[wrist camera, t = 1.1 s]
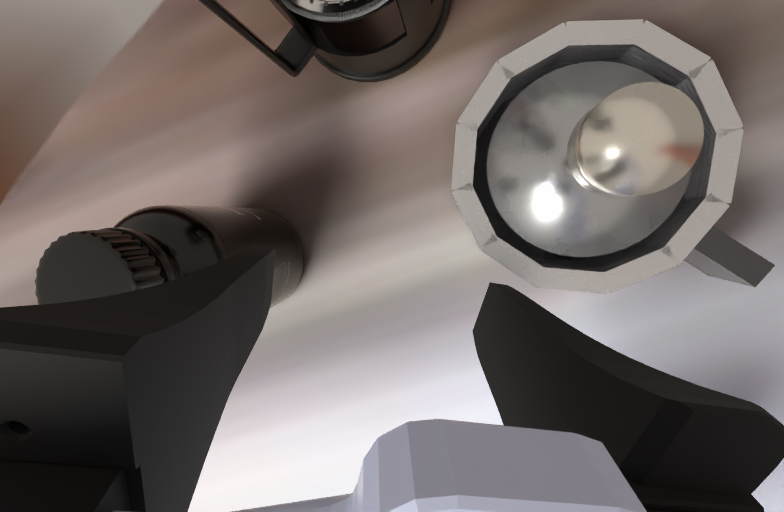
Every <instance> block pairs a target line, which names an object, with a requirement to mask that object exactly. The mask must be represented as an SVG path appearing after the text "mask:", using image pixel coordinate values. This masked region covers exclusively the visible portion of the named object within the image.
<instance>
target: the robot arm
mask: <svg viewBox="0 0 784 512" xmlns="http://www.w3.org/2000/svg"><path fill="white" fill-rule="evenodd" d="M274 261H275V249H274V248H267V247H261V246H253V247H251V248H248V249H246V250H244V251H242V252H240V253H238V254H236V255H234V256H231V257H229V258H227V259H225V260H223V261H221V262H219V263H216V264H214V265H212V266H209V267H207V268H204V269H202V270H199V271H197V272H194V273H192V274H189V275H187V276H184V277H181V278H178V279H175V280H172V281H169V282H165V283H162V284H158V285H155V286H151V287H147V288H143V289H138V290H134V291H129V292H124V293H120V294H115V295H110V296H104V297H98V298H92V299H85V300H78V301H70V302H62V303H53V304H42V305H29V306H16V307H4V308H0V512H188V508H189V505H190V502H191V500H192V497H193V494H194V491H195V488H196V485H197V482H198V479H199V476H200V473H201V470H202V468H203V465H204V462H205V459H206V456H207V453H208V451H209V448H210V445H211V442H212V440H213V437H214V434H215V431H216V429H217V426H218V423H219V421H220V418H221V415H222V413H223V410H224V407H225V405H226V402H227V400H228V397H229V395H230V393H231V390H232V388H233V386H234V384H235V382H236V380H237V378H238V376H239V374H240V372H241V370H242V368H243V366H244V364H245V362H246V360H247V358H248V357H249V355H250V353H251V351H252V349H253V347H254V345H255V343H256V341H257V339H258V337H259V335H260V333H261V331H262V329H263V326H264V323H265V320H266V318H267V315H268V312H269V308H270V305H271V300H272V287H273V274H274ZM473 335H474V341H475V346H476V350H477V354H478V358H479V360H480V363H481V366H482V369H483V371H484V374H485V377H486V379H487V382H488V384H489V387H490V389H491V392H492V395H493V397H494V400H495V402H496V405H497V407H498V410H499V413H500V416H501V419H502V422H503V425H504V426H503V425H493V424H483V423H474V422H464V421H454V420H444V419H433V420H421V421H410V422H407V423H405V424H403V425H401V426H399V427H397V428H395V429H393V430H391V431H389V432H387V433H385V434H383V435H382V436H380V437H378V438H377V440H376V441H375V443H374V444H373V446H372V447H371V449H370V450H369V452H368V453H367V455H366V456H365V458H364V460H363V464H362V468H361V472H360V475H359V479H358V483H357V485H356V487H355V490H354V492H353V493H352V494H346V495H339V496H332V497H326V498H319V499H312V500H306V501H299V502H292V503H286V504H279V505H272V506H266V507H259V508H252V509H246V510H239V511H232V512H764V508H763V507H762V506H761V505H760V503H759V502H758V501H757V500H756V499H755V498H754V497H753V496H752V495H751V493H752V492H753V491H754V490H755V489H756V488H757V487H758V486H759V485H760V484H761V483H762V482H763V481H764V480H765V479H766V478H767V477H768V476H769V474H770V473H771V472H772V471H773V470H774V469H775V468H776V467H777V466H778V464H779V463H780V462H781V461H782V459H783V458H784V425H783V424H781V423H780V422H779V421H778V420H777V419H775V418H774V417H773V416H772V415H771V414H769V413H768V412H767V411H766V410H765V409H763V408H762V407H760V406H758V405H756V404H754V403H752V402H749V401H746V400H742V399H739V398H736V397H733V396H730V395H727V394H723V393H720V392H717V391H714V390H711V389H707V388H704V387H701V386H698V385H696V384H693V383H690V382H688V381H685V380H682V379H679V378H677V377H674V376H671V375H669V374H666V373H664V372H661V371H659V370H656V369H654V368H652V367H649V366H647V365H645V364H643V363H640V362H638V361H636V360H634V359H631V358H629V357H627V356H625V355H623V354H621V353H619V352H617V351H615V350H613V349H611V348H609V347H607V346H605V345H603V344H601V343H599V342H598V341H596V340H594V339H592V338H590V337H589V336H587V335H585V334H583V333H582V332H580V331H578V330H577V329H575V328H574V327H572V326H570V325H569V324H567V323H565V322H564V321H562V320H561V319H559V318H558V317H556V316H555V315H553V314H552V313H550V312H549V311H547V310H546V309H544V308H543V307H541V306H540V305H538V304H537V303H535V302H534V301H532V300H531V299H530V298H528V297H527V296H525V295H523V294H522V293H520V292H519V291H517V290H515V289H514V288H512V287H510V286H508V285H503V284H496V283H490V284H489V287H488V289H487V292H486V295H485V298H484V301H483V303H482V306H481V309H480V312H479V315H478V317H477V320H476V323H475V326H474V329H473Z"/></svg>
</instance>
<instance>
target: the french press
mask: <svg viewBox="0 0 784 512" xmlns="http://www.w3.org/2000/svg"><path fill="white" fill-rule="evenodd" d="M199 1H200V2H201V3H202V4H204V5H205V6H206V7H207V8H208V9H210V10H211V11H212V12H213V13H215V14H216V15H217V16H218V17H219V18H221V19H222V20H223V21H224V22H226V23H227V24H228V25H229V26H230V27H232V28H233V29H234V30H235V31H237V32H238V33H239V34H240V35H241V36H243V37H244V38H245V39H246V40H248V41H249V42H250V43H251V44H253V45H254V46H255V47H256V48H257V49H259V50H260V51H261V52H262V53H264V54H265V55H266V56H267V57H268V58H270V59H271V60H272V61H273V62H275V63H276V64H277V65H278V66H279V67H281V68H282V69H283V70H284V71H286V72H287V73H288V74H289V75H291V76H293V77H296V76H298V75H299V74H300V72H301V71H302V70H303V68H304V67H305V66H306V64H307V63H308V62H309V60H310V59H311V58H312V56H313V55H314V56H315V57H316V59H317V60H318V61H319V62H320V63H321V64H322V65H323V66H324V67H326V68H327V69H329V70H330V71H331V72H333V73H334V74H336V75H339V76H341V77H343V78H345V79H348V80H353V81H358V82H378V81H382V80H387V79H391V78H393V77H395V76H398V75H400V74H402V73H404V72H406V71H407V70H409V69H410V68H411V67H413V66H414V65H416V64H417V63H418V62H419V61H420V60H421V59H422V58H423V57H424V56H425V55H426V54H427V53H428V52H429V51H430V49H431V48H432V46H433V45H434V43H435V42H436V41H437V39H438V38H439V36H440V33H441V31H442V29H443V27H444V25H445V22H446V19H447V15H448V11H449V7H450V0H396V1H397V4H398V8H399V11H400V15H401V18H402V21H403V25H404V28H405V33H404V34H402V35H401V36H399V37H398V38H397V39H395V40H394V41H392V42H391V43H389V44H386V45H384V46H382V47H380V48H378V49H374V50H370V51H366V52H362V53H346V52H344V51H341V50H340V49H338V48H337V47H336V46H334V45H333V44H332V43H331V42H330V41H329V40H328V39H327V38H326V36H325V34H324V33H323V31H322V29H321V27H320V24H319V21H320V22H327V23H344V22H350V21H354V20H358V19H362V18H365V17H367V16H369V15H372V14H374V13H376V12H378V11H380V10H381V9H383V8H384V7H386V6H387V5H389V4H390V3H392V2H393V1H394V0H270V1H271V2H272V4H273V5H274V6H275V7H276V8H277V9H278V10H279V11H280V13H281V14H282V15H283V16H284V17H285V18H286V19H287V20H288V21H289V23H290V24H291V25H292V26H293V27H292V29H291V30H290V31H289V33H288V34H287V36H286V37H285V38H284V40H283V41H282V42H281V44H280V45H279V47H278V48H277V49H276V50H275V51H273V50H272V49H271V48H270V47H269V46H268V45H267V44H265V43H264V42H263V41H262V40H261V39H260V38H259V37H257V36H256V35H255V34H254V33H253V32H252V31H251V30H249V29H248V28H247V27H246V26H245V25H244V24H243V23H241V22H240V21H239V20H238V19H237V18H236V17H235V16H233V15H232V14H231V13H230V12H229V11H228V10H227V9H226V8H224V7H223V6H222V5H221V4H220V3H219V2H218V1H216V0H199Z"/></svg>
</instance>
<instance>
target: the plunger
mask: <svg viewBox="0 0 784 512" xmlns="http://www.w3.org/2000/svg"><path fill="white" fill-rule="evenodd" d="M703 138H704V127H703V121H702V117H701V115H700V112H699V110H698V108H697V107H696V105H695V104H694V102H693V101H692V100H691V99H690V98H689V97H688V96H687V95H686V94H685V93H683V92H682V91H680V90H679V89H677V88H675V87H673V86H670V85H667V84H663V83H661V82H660V81H658V80H657V79H656V78H654V77H653V76H651V75H650V74H648V73H646V72H644V71H642V70H640V69H637V68H634V67H631V66H628V65H625V64H620V63H615V62H605V61H593V62H582V63H577V64H572V65H568V66H565V67H562V68H559V69H557V70H554V71H552V72H550V73H548V74H546V75H544V76H542V77H541V78H539V79H538V80H536V81H534V82H533V83H532V84H530V85H529V86H528V87H527V88H525V89H524V90H523V91H522V92H521V93H520V94H519V95H518V96H517V97H516V98H515V99H514V100H513V101H512V102H511V104H510V105H509V106H508V108H507V109H506V110H505V112H504V113H503V115H502V117H501V118H500V120H499V122H498V124H497V126H496V128H495V131H494V133H493V135H492V138H491V141H490V145H489V148H488V154H487V161H486V175H487V184H488V188H489V192H490V196H491V198H492V201H493V203H494V206H495V208H496V209H497V211H498V213H499V215H500V216H501V217H502V219H503V220H504V221H505V223H506V224H507V225H508V226H509V227H510V228H511V229H512V230H513V231H514V232H515V233H516V234H517V235H519V236H520V237H521V238H523V239H524V240H525V241H527V242H529V243H531V244H532V245H534V246H536V247H539V248H541V249H543V250H546V251H548V252H552V253H555V254H559V255H565V256H572V257H591V256H601V255H605V254H609V253H614V252H616V251H619V250H622V249H625V248H627V247H629V246H631V245H633V244H635V243H637V242H639V241H641V240H642V239H644V238H645V237H647V236H648V235H650V234H651V233H652V232H653V231H655V230H656V229H657V228H658V227H659V226H661V224H662V223H663V222H664V221H665V220H666V219H667V218H668V217H669V216H670V215H671V213H672V212H673V211H674V209H675V208H676V206H677V205H678V203H679V202H680V200H681V198H682V196H683V194H684V192H685V190H686V187H687V185H688V182H689V179H690V175H691V171H692V167H693V165H694V163H695V162H696V160H697V158H698V156H699V154H700V151H701V148H702V144H703Z"/></svg>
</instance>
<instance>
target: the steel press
mask: <svg viewBox="0 0 784 512" xmlns="http://www.w3.org/2000/svg"><path fill="white" fill-rule="evenodd" d="M710 58H711V57H709V56H708V55H706V54H704V53H702V52H701V51H699V50H697V49H695V48H694V47H692V46H690V45H689V44H687V43H685V42H683V41H682V40H680V39H678V38H677V37H675V36H673V35H671V34H670V33H668V32H666V31H664V30H663V29H661V28H659V27H658V26H656V25H654V24H652V23H651V22H649V21H647V20H646V21H645V22H644V23H643V19H635V20H598V21H566V23H565V24H564V22H563V23H561V24H560V25H558V26H556V27H554V28H553V29H551V30H549V31H547V32H546V33H544V34H542V35H540V36H539V37H537V38H535V39H533V40H532V41H530V42H528V43H526V44H525V45H523V46H521V47H519V48H518V49H516V50H514V51H512V52H511V53H509V54H507V55H505V56H504V57H502V58H500V59H498V61H497V62H495V64H494V65H493V67H492V68H491V70H490V72H489V73H488V75H487V76H486V78H485V79H484V81H483V82H482V84H481V85H480V87H479V89H478V90H477V92H476V93H475V95H474V96H473V98H472V99H471V101H470V102H469V104H468V106H467V107H466V109H465V110H464V112H463V113H462V115H461V116H460V118H459V119H458V121H457V124H456V134H455V147H454V160H453V173H452V186H451V191H452V194H453V197H454V199H455V201H456V203H457V205H458V207H459V209H460V211H461V213H462V215H463V218H464V220H465V222H466V224H467V226H468V228H469V230H470V232H471V234H472V236H473V238H474V240H475V242H476V244H477V246H478V248H479V249H480V250H481V251H482V252H484V253H485V254H487V255H488V256H490V257H491V258H493V259H494V260H496V261H497V262H499V263H500V264H501V265H503V266H504V267H506V268H507V269H509V270H510V271H512V272H513V273H515V274H516V275H518V276H519V277H521V278H522V279H524V280H525V281H527V282H528V283H530V284H531V285H533V286H534V287H535V286H536V287H537V288H548V289H559V290H570V291H581V292H593V293H604V294H606V293H611V292H614V291H616V290H619V289H621V288H624V287H626V286H629V285H631V284H633V283H636V282H638V281H641V280H643V279H646V278H648V277H651V276H653V275H656V274H658V273H661V272H663V271H666V270H668V269H671V268H673V267H676V266H678V264H677V263H679V264H681V263H682V261H683V260H685V261H686V262H688V263H689V264H691V265H692V266H694V267H696V268H697V269H699V270H700V271H702V272H703V273H705V274H707V275H709V276H713V277H717V278H721V279H725V280H729V281H733V282H737V283H741V284H745V285H749V286H753V287H756V286H757V285H758V284H759V283H760V281H761V280H762V279H763V278H764V277H765V276H766V275H767V274H768V273H769V272H770V271H771V269H772V268H773V267H774V266H775V265H774V264H772V263H771V262H769V261H767V260H766V259H764V258H763V257H761V256H759V255H758V254H756V253H755V252H753V251H751V250H750V249H748V248H747V247H745V246H743V245H742V244H740V243H739V242H737V241H735V240H734V239H732V238H731V237H729V236H727V235H726V234H724V233H723V232H721V231H719V230H718V229H716V228H714V227H713V225H714V224H715V223H716V222H717V220H718V219H719V218H720V217H721V216H722V215H723V213H724V212H725V211H726V210H727V209H728V207H729V206H730V205H728V204H727V203H731V202H732V196H733V190H734V184H735V179H736V173H737V167H738V161H739V156H740V150H741V144H742V138H743V133H744V129H739V128H742V127H744V126H743V124H742V122H741V119H740V117H739V115H738V113H737V111H736V109H735V106H734V104H733V102H732V100H731V98H730V95H729V93H728V91H727V89H726V87H725V85H724V82H723V80H722V78H721V76H720V74H719V72H718V69H717V67H716V65H715V63H714V61H713V60H711V61H709V60H710ZM593 61H605V62H615V63H620V64H625V65H628V66H631V67H634V68H637V69H640V70H642V71H644V72H646V73H648V74H650V75H651V76H653V77H654V78H656V79H657V80H658V81H660V82H661V83H663V84H667V85H670V86H673V87H675V88H677V89H679V90H680V91H682V92H683V93H685V94H686V95H687V96H688V97H689V98H690V99H691V100H692V101H693V102H694V104H695V105H696V107H697V108H698V110H699V112H700V115H701V117H702V121H703V127H704V138H703V144H702V148H701V151H700V154H699V156H698V158H697V160H696V162H695V163H694V165H693V167H692V171H691V175H690V179H689V182H688V185H687V187H686V190H685V192H684V194H683V196H682V198H681V200H680V202H679V203H678V205H677V206H676V208H675V209H674V211H673V212H672V213H671V215H670V216H669V217H668V218H667V219H666V220H665V221H664V222H663V223H662V224H661V226H659V227H658V228H657V229H656V230H655V231H653V232H652V233H651V234H650V235H648V236H647V237H645V238H644V239H642V240H641V241H639V242H637V243H635V244H633V245H631V246H629V247H627V248H625V249H622V250H619V251H616V252H614V253H609V254H605V255H601V256H591V257H572V256H565V255H559V254H555V253H552V252H548V251H546V250H543V249H541V248H539V247H536V246H534V245H532V244H531V243H529V242H527V241H525V240H524V239H523V238H521V237H520V236H519V235H517V234H516V233H515V232H514V231H513V230H512V229H511V228H510V227H509V226H508V225H507V224H506V223H505V221H504V220H503V219H502V217H501V216H500V215H499V213H498V211H497V209H496V208H495V206H494V203H493V201H492V198H491V196H490V192H489V188H488V184H487V175H486V161H487V154H488V148H489V145H490V141H491V138H492V135H493V133H494V131H495V128H496V126H497V124H498V122H499V120H500V118H501V117H502V115H503V113H504V112H505V110H506V109H507V108H508V106H509V105H510V104H511V102H512V101H513V100H514V99H515V98H516V97H517V96H518V95H519V94H520V93H521V92H522V91H523V90H524V89H525V88H527V87H528V86H529V85H530V84H532V83H533V82H534V81H536V80H538V79H539V78H541V77H542V76H544V75H546V74H548V73H550V72H552V71H554V70H557V69H559V68H562V67H565V66H568V65H572V64H577V63H582V62H593ZM708 61H709V62H708Z"/></svg>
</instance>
